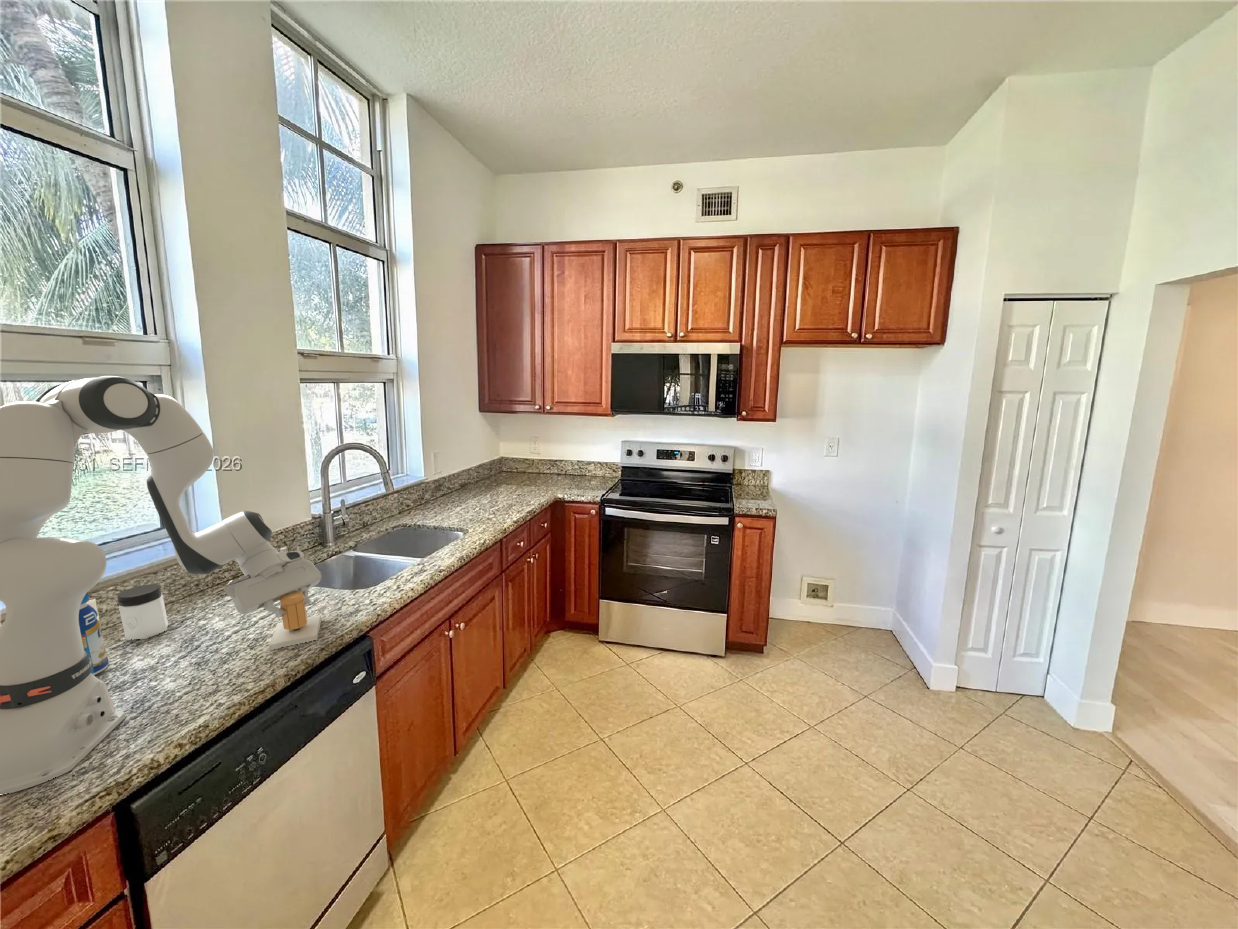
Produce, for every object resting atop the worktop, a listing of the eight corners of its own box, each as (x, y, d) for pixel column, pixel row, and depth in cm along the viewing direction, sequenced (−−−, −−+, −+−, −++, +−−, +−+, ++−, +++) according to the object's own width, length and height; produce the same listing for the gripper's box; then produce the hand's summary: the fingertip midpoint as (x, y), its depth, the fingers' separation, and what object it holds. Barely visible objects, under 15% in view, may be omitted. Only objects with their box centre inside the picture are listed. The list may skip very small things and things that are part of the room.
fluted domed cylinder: (305, 627, 127) (301, 598, 126) (282, 631, 125) (278, 602, 123) (308, 618, 131) (304, 590, 130) (286, 622, 129) (281, 594, 128)
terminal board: (317, 640, 126) (314, 618, 124) (270, 650, 121) (266, 627, 120) (321, 619, 136) (318, 599, 135) (278, 628, 132) (275, 607, 131)
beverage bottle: (47, 680, 110) (26, 598, 107) (96, 659, 118) (77, 582, 114) (71, 687, 108) (50, 603, 104) (119, 665, 116) (101, 586, 112)
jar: (115, 642, 126) (105, 598, 124) (141, 626, 134) (132, 585, 132) (154, 639, 127) (145, 596, 125) (177, 623, 135) (169, 582, 133)
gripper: (225, 577, 118) (256, 622, 116) (307, 549, 137) (335, 587, 135) (217, 591, 121) (247, 635, 119) (299, 561, 139) (326, 599, 137)
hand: (295, 609), depth 127 cm, fingers closed on fluted domed cylinder, 5 cm apart
